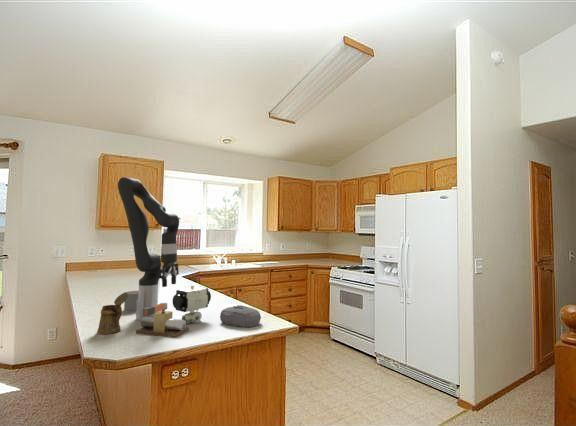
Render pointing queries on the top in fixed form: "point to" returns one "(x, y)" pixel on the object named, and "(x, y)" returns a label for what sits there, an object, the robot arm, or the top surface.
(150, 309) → the valve lever
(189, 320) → the ball valve
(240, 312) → the small grey backpack
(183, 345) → the top surface
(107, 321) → the wooden mug
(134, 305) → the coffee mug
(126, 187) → the robot arm
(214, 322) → the top surface
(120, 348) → the top surface
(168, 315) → the stand
